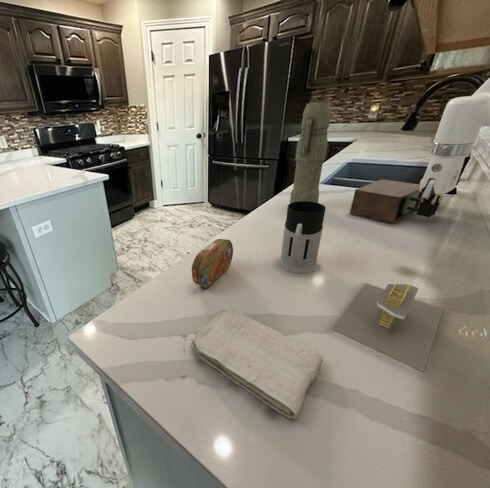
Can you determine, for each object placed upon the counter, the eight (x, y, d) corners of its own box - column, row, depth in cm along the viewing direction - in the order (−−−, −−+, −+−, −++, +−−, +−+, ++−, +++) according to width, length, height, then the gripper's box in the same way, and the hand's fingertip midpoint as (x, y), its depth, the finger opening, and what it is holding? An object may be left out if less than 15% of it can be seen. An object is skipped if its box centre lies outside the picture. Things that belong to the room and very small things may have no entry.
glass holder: (319, 258, 66) (330, 202, 59) (311, 290, 55) (324, 226, 49) (282, 252, 70) (289, 198, 63) (269, 280, 60) (275, 220, 53)
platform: (332, 329, 46) (339, 300, 43) (365, 283, 56) (373, 256, 53) (423, 372, 37) (441, 339, 34) (443, 308, 47) (458, 279, 44)
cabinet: (417, 211, 84) (426, 185, 80) (391, 224, 78) (400, 197, 74) (374, 202, 94) (381, 179, 90) (349, 214, 87) (355, 189, 83)
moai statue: (320, 205, 96) (340, 98, 80) (310, 216, 89) (330, 100, 73) (295, 202, 102) (308, 101, 86) (284, 212, 94) (296, 103, 78)
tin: (201, 294, 58) (200, 262, 54) (190, 289, 60) (188, 258, 56) (234, 263, 67) (234, 234, 64) (223, 260, 69) (223, 232, 66)
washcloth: (224, 313, 52) (224, 301, 50) (324, 363, 40) (328, 349, 39) (186, 352, 45) (185, 339, 43) (294, 426, 33) (298, 412, 32)
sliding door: (435, 213, 79) (443, 193, 76) (425, 219, 76) (432, 199, 73) (411, 208, 83) (417, 190, 81) (401, 214, 81) (407, 195, 78)
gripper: (457, 156, 62) (429, 226, 71) (482, 145, 69) (453, 211, 77) (418, 153, 68) (396, 218, 77) (443, 144, 75) (421, 205, 83)
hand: (425, 214), depth 77 cm, fingers closed
